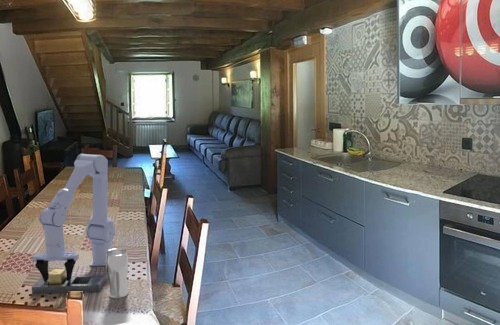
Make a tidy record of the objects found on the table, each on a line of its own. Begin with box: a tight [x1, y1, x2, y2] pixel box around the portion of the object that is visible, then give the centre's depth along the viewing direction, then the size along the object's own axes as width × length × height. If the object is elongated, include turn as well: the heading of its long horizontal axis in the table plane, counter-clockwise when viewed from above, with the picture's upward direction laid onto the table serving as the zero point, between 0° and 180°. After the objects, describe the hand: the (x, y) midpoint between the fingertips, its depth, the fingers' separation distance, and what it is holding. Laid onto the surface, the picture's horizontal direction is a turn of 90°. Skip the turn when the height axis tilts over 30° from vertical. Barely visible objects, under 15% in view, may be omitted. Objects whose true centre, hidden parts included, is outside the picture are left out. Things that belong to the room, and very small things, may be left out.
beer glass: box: [105, 248, 129, 300], centre depth 133 cm, size 7×7×15 cm
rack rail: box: [31, 274, 107, 295], centre depth 139 cm, size 8×22×2 cm, turn 94°
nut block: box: [48, 268, 67, 285], centre depth 138 cm, size 4×4×6 cm
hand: (57, 280), depth 138 cm, fingers open, 7 cm apart
